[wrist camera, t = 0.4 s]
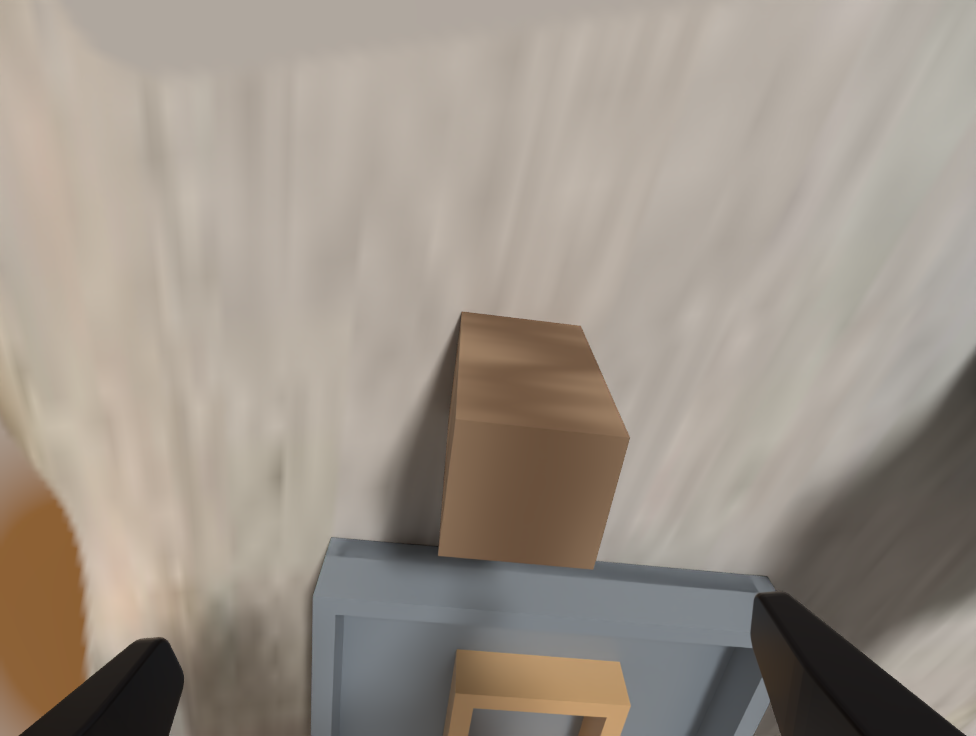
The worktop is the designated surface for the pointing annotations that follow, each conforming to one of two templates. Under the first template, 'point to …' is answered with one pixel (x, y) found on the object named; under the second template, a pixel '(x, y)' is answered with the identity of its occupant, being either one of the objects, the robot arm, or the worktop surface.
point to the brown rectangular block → (528, 445)
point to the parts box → (529, 647)
